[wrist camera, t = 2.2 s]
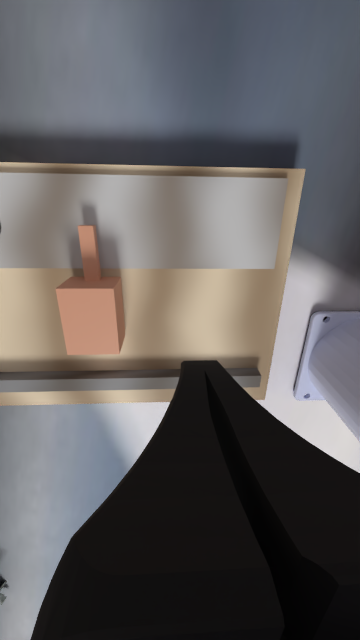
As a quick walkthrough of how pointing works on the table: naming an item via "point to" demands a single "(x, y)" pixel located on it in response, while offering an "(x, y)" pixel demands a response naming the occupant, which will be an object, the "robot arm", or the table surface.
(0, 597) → the metal bracket
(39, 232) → the plate
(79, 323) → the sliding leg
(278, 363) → the table surface
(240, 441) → the robot arm
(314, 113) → the table surface
